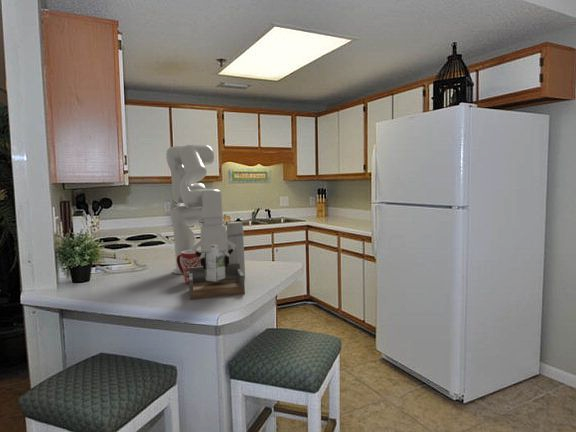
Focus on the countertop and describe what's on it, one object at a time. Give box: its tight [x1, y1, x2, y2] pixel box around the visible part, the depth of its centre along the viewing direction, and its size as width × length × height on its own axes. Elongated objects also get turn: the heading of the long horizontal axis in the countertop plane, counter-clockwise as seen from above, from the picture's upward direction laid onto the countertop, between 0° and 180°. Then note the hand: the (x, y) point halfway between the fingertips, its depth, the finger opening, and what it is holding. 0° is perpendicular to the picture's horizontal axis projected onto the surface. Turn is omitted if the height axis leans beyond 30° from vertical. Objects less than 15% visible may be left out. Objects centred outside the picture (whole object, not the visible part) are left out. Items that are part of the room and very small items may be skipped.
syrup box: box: [204, 244, 226, 282], centre depth 151 cm, size 6×6×14 cm
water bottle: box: [226, 221, 246, 281], centre depth 169 cm, size 9×8×25 cm
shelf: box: [188, 263, 246, 300], centre depth 152 cm, size 14×20×9 cm
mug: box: [177, 249, 202, 285], centre depth 169 cm, size 13×9×14 cm
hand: (215, 266), depth 151 cm, fingers closed on syrup box, 8 cm apart
